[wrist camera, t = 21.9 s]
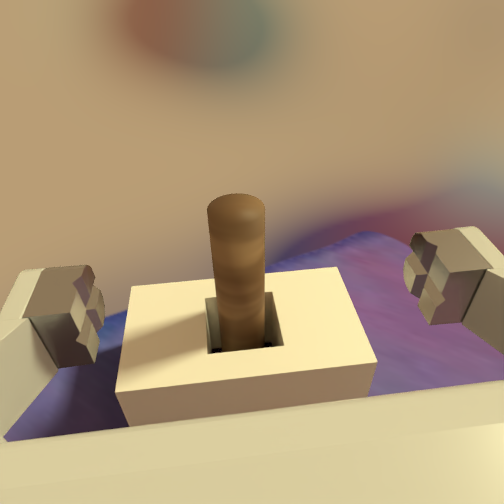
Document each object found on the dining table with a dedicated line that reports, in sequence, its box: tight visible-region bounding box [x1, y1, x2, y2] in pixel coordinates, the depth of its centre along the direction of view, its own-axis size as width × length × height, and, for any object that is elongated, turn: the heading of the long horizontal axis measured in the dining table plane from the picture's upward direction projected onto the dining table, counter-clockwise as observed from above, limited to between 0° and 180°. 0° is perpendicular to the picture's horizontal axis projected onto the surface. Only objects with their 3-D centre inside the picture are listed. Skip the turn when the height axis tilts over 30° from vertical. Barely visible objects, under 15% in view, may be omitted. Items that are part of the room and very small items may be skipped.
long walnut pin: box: [207, 194, 265, 353], centre depth 27 cm, size 3×3×15 cm
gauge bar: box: [115, 267, 377, 427], centre depth 30 cm, size 9×16×6 cm, turn 97°
